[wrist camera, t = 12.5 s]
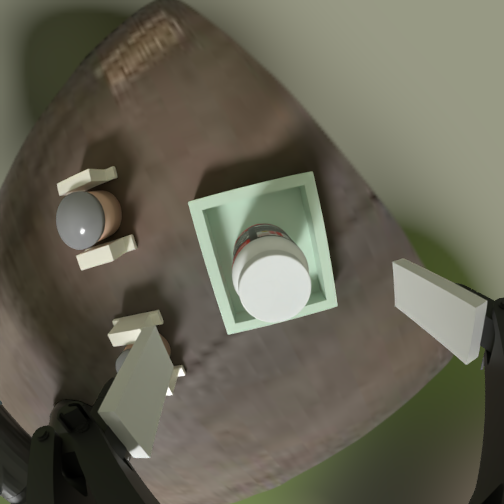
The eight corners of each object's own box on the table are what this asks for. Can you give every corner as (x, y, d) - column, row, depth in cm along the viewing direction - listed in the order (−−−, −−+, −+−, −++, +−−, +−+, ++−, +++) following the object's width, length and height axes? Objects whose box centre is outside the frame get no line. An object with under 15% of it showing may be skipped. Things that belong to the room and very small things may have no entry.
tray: (228, 320, 29) (228, 334, 27) (193, 200, 26) (187, 202, 23) (328, 294, 29) (337, 306, 26) (304, 172, 26) (312, 171, 23)
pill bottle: (233, 221, 26) (231, 243, 17) (293, 223, 27) (324, 245, 17) (232, 279, 28) (230, 328, 18) (290, 280, 28) (314, 328, 18)
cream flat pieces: (142, 378, 31) (134, 398, 27) (70, 185, 25) (49, 187, 21) (185, 372, 31) (180, 393, 27) (115, 166, 25) (97, 164, 21)
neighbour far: (140, 367, 31) (128, 392, 26) (123, 332, 29) (107, 355, 25) (178, 362, 31) (170, 389, 26) (161, 325, 29) (150, 349, 24)
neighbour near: (89, 244, 27) (65, 255, 22) (76, 198, 26) (50, 202, 21) (128, 231, 27) (108, 240, 22) (115, 182, 25) (92, 183, 21)
